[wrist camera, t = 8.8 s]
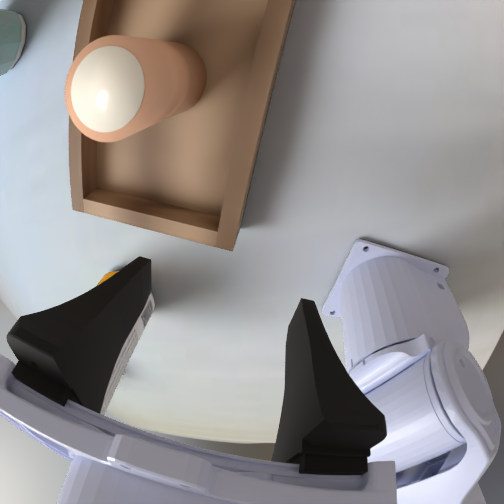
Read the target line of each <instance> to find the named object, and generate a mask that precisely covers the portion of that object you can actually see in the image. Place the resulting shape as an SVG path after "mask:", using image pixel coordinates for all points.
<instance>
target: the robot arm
mask: <svg viewBox="0 0 504 504" xmlns="http://www.w3.org/2000/svg"><path fill="white" fill-rule="evenodd" d="M365 246H368V248H367V249H363V248H364V247H365ZM435 268H437V269H436V270H434V269H435ZM449 272H450V270H449V268H448V267H447V266H445V265H442V264H439V263H436V262H433V261H430V260H427V259H424V258H420V257H417V256H414V255H411V254H408V253H405V252H402V251H398V250H395V249H392V248H389V247H385V246H382V245H379V244H375V243H372V242H369V241H365V240H362V239H359V240H356V241H355V242H354V244H353V246H352V248H351V250H350V253H349V255H348V257H347V259H346V261H345V263H344V265H343V267H342V269H341V271H340V273H339V276H338V278H337V280H336V282H335V284H334V286H333V288H332V290H331V292H330V294H329V296H328V298H327V299H326V301H325V303H324V305H323V307H322V313H323V314H324V315H327V316H332V317H336V318H341V320H342V329H343V340H344V351H345V364H346V369H345V368H344V366H343V364H342V363H341V361H340V359H339V357H338V356H337V354H336V352H335V350H334V348H333V346H332V344H331V342H330V339H329V337H328V335H327V333H326V330H325V328H324V326H323V323H322V321H321V318H320V315H319V313H318V310H317V307H316V304H315V302H314V301H311V300H307V299H303V298H301V300H300V302H299V305H298V307H297V309H296V311H295V313H294V316H293V318H292V320H291V322H290V324H289V326H288V333H287V340H286V359H285V391H284V399H283V406H282V412H281V418H280V424H279V429H278V434H277V439H276V444H275V448H274V453H273V457H272V461H266V460H259V459H253V458H246V457H241V456H236V455H230V454H225V453H221V452H216V451H212V450H207V449H203V448H199V447H195V446H191V445H187V444H184V443H180V442H177V441H173V440H170V439H167V438H164V437H160V436H157V435H154V434H151V433H148V432H145V431H142V430H139V429H137V428H134V427H131V426H129V425H126V424H123V423H121V422H118V421H116V420H113V419H111V418H108V417H106V416H104V415H101V414H100V412H101V408H102V405H103V401H104V397H105V394H106V391H107V387H108V384H109V381H110V378H111V375H112V372H113V370H114V367H115V364H116V362H117V359H118V357H119V354H120V352H121V349H122V347H123V345H124V343H125V341H126V339H127V338H128V336H129V334H130V332H131V331H132V329H133V327H134V325H135V323H136V322H137V320H138V318H139V316H140V315H141V313H142V311H143V309H144V307H145V305H146V303H147V300H148V298H149V295H150V293H151V259H147V258H144V257H140V256H139V257H138V258H136V259H135V260H134V261H132V262H131V263H129V264H128V265H127V266H125V267H124V268H122V269H121V270H120V271H118V272H117V273H115V274H114V275H113V276H111V277H110V278H108V279H107V280H105V281H104V282H102V283H101V284H99V285H98V286H96V287H94V288H93V289H91V290H89V291H88V292H86V293H84V294H82V295H80V296H78V297H76V298H74V299H72V300H70V301H67V302H65V303H63V304H61V305H58V306H56V307H53V308H50V309H47V310H44V311H41V312H37V313H33V314H29V315H25V316H21V317H20V318H19V319H18V321H17V322H16V323H15V325H14V326H13V327H12V329H11V330H10V332H9V333H8V335H7V342H8V344H9V346H10V347H11V349H12V351H13V352H14V354H15V356H16V357H17V359H18V360H19V361H18V363H17V365H15V364H14V363H13V362H12V361H11V360H9V359H8V358H6V357H5V356H3V355H1V354H0V415H1V416H2V417H3V418H5V419H6V420H7V421H9V422H10V423H12V424H13V425H14V426H16V427H17V428H19V429H20V430H21V431H23V432H25V433H26V434H27V435H29V436H30V437H32V438H33V439H35V440H36V441H38V442H40V443H41V444H43V445H44V446H46V447H48V448H49V449H51V450H53V451H54V452H56V453H58V454H59V455H61V456H63V457H65V458H66V459H68V460H70V461H72V462H71V465H70V468H69V470H68V473H67V475H66V478H65V481H64V483H63V486H62V489H61V492H60V495H59V498H58V500H57V504H486V502H485V500H484V497H483V495H482V492H481V490H480V487H479V485H478V481H479V479H480V478H481V476H482V475H483V474H484V472H485V471H486V469H487V468H488V467H489V465H490V464H491V462H492V460H493V459H494V457H495V455H496V452H497V450H498V447H499V441H500V431H501V423H500V419H499V416H498V414H497V411H496V409H495V406H494V404H493V400H492V395H491V392H490V388H489V386H488V383H487V380H486V378H485V376H484V374H483V372H482V370H481V368H480V366H479V364H478V363H477V361H476V360H475V358H474V357H473V355H472V354H471V353H470V352H469V351H468V348H469V331H468V327H467V324H466V321H465V319H464V317H463V315H462V313H461V310H460V308H459V306H458V304H457V302H456V300H455V298H454V296H453V294H452V292H451V290H450V288H449V286H448V284H447V282H446V280H445V279H446V277H447V276H448V274H449ZM331 311H334V312H331Z"/></svg>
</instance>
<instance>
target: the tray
mask: <svg viewBox="0 0 504 504" xmlns="http://www.w3.org/2000/svg"><path fill="white" fill-rule="evenodd" d="M295 1H296V0H83V5H82V9H81V14H80V19H79V25H78V30H77V36H76V43H75V50H74V57H73V61H74V60H75V58H76V56H77V55H78V54H79V53H80V51H81V50H82V49H83V48H84V47H86V46H87V45H88V44H89V43H91V42H93V41H94V40H96V39H99V38H101V37H105V36H110V35H121V36H132V37H142V38H150V39H158V40H165V41H171V42H177V43H182V44H185V45H187V46H190V47H191V48H193V49H194V50H195V51H196V52H197V53H198V54H199V55H200V56H201V58H202V60H203V62H204V64H205V67H206V73H207V80H206V85H205V89H204V91H203V94H202V95H201V97H200V99H199V100H198V101H197V102H196V103H195V105H194V106H192V107H191V108H190V109H188V110H187V111H185V112H182V113H180V114H178V115H175V116H173V117H170V118H168V119H166V120H163V121H161V122H159V123H157V124H154V125H152V126H150V127H148V128H145V129H143V130H141V131H139V132H137V133H135V134H133V135H131V136H128V137H126V138H124V139H122V140H119V141H115V142H99V141H95V140H93V139H90V138H89V137H87V136H85V135H84V134H83V133H82V132H81V131H80V130H79V129H78V128H77V127H76V126H75V124H74V123H73V121H72V119H71V118H70V115H69V167H70V185H71V197H72V208H73V210H75V211H79V212H83V213H87V214H91V215H94V216H98V217H102V218H106V219H110V220H114V221H117V222H121V223H125V224H129V225H133V226H137V227H140V228H144V229H148V230H152V231H156V232H160V233H163V234H167V235H171V236H175V237H179V238H183V239H187V240H190V241H194V242H198V243H202V244H206V245H210V246H214V247H218V248H221V249H225V250H229V251H233V248H234V245H235V242H236V239H237V236H238V234H239V231H240V227H241V222H242V218H243V214H244V209H245V205H246V200H247V196H248V192H249V187H250V183H251V179H252V175H253V170H254V166H255V162H256V157H257V153H258V149H259V145H260V141H261V136H262V132H263V128H264V124H265V120H266V116H267V111H268V107H269V103H270V99H271V95H272V91H273V87H274V83H275V79H276V75H277V71H278V67H279V63H280V59H281V55H282V51H283V47H284V43H285V39H286V35H287V32H288V28H289V24H290V20H291V16H292V12H293V9H294V5H295Z"/></svg>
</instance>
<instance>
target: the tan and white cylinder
mask: <svg viewBox="0 0 504 504" xmlns="http://www.w3.org/2000/svg"><path fill="white" fill-rule="evenodd" d="M206 80H207V73H206V67H205V64H204V62H203V60H202V58H201V56H200V55H199V54H198V53H197V52H196V51H195V50H194V49H193V48H191V47H190V46H187V45H185V44H182V43H177V42H171V41H165V40H158V39H150V38H142V37H132V36H121V35H110V36H105V37H101V38H99V39H96V40H94V41H93V42H91V43H89V44H88V45H87V46H86V47H84V48H83V49H82V50H81V51H80V53H79V54H78V55H77V56H76V58H75V60H74V61H73V63H72V65H71V67H70V69H69V72H68V75H67V79H66V85H65V101H66V106H67V110H68V113H69V115H70V118H71V119H72V121H73V123H74V124H75V126H76V127H77V128H78V129H79V130H80V131H81V132H82V133H83V134H84V135H85V136H87V137H89V138H90V139H93V140H95V141H99V142H115V141H119V140H122V139H124V138H126V137H128V136H131V135H133V134H135V133H137V132H139V131H141V130H143V129H145V128H148V127H150V126H152V125H154V124H157V123H159V122H161V121H163V120H166V119H168V118H170V117H173V116H175V115H178V114H180V113H182V112H185V111H187V110H188V109H190V108H191V107H192V106H194V105H195V103H196V102H197V101H198V100H199V99H200V97H201V95H202V94H203V91H204V89H205V85H206Z"/></svg>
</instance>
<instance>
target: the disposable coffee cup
mask: <svg viewBox="0 0 504 504" xmlns="http://www.w3.org/2000/svg"><path fill="white" fill-rule="evenodd" d="M25 34H26V24H25V22H24V19H23V17H22V15H20V14H18V13H17V12H14V11H10V10H3V9H0V76H1V75H3V74H5V73H7V71H8V70H10V69H12V68H13V66H14V65H15V63H16V62H17V61H18V59H19V58H20V55H21V52H22V49H23V46H24V43H25Z"/></svg>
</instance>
